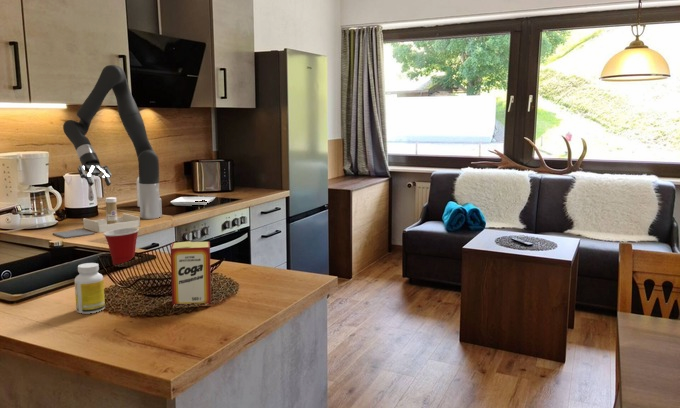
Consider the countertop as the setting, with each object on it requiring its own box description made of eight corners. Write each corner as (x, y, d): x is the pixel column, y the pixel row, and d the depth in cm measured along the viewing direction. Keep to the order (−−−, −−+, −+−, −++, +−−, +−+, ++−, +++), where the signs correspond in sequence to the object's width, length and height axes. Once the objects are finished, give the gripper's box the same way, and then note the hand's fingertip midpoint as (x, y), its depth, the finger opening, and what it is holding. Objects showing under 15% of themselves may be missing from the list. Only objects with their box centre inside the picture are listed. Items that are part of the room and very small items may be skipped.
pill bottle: (109, 310, 132) (107, 265, 131) (83, 317, 128) (80, 270, 126) (98, 304, 137) (95, 260, 135) (72, 310, 132) (69, 265, 130)
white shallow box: (124, 222, 249) (124, 213, 248) (140, 226, 240) (139, 216, 239) (83, 228, 234) (83, 218, 234) (98, 232, 225) (98, 222, 225)
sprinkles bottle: (111, 228, 234) (109, 198, 232) (104, 227, 236) (102, 197, 234) (120, 227, 238) (118, 197, 236) (113, 226, 240) (111, 196, 238)
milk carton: (149, 207, 295) (147, 173, 292) (137, 207, 296) (136, 173, 293) (155, 205, 302) (154, 172, 299) (144, 205, 303) (143, 172, 300)
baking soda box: (211, 298, 143) (209, 240, 140) (211, 306, 136) (209, 245, 134) (174, 300, 140) (172, 241, 138) (172, 308, 134) (170, 247, 132)
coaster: (82, 230, 230) (81, 229, 230) (94, 234, 222) (94, 232, 222) (52, 234, 221) (52, 232, 221) (65, 238, 213) (65, 237, 213)
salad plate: (169, 207, 300) (169, 201, 300) (181, 201, 321) (180, 196, 321) (206, 207, 300) (206, 201, 300) (215, 202, 321) (215, 196, 321)
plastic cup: (111, 262, 178) (109, 226, 177) (144, 261, 179) (142, 226, 178) (99, 270, 168) (97, 233, 166) (135, 270, 169) (133, 233, 167)
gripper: (76, 150, 238) (90, 179, 233) (105, 152, 250) (118, 180, 246) (69, 160, 241) (82, 189, 237) (98, 162, 253) (110, 189, 249)
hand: (100, 184), depth 241 cm, fingers open, 8 cm apart
